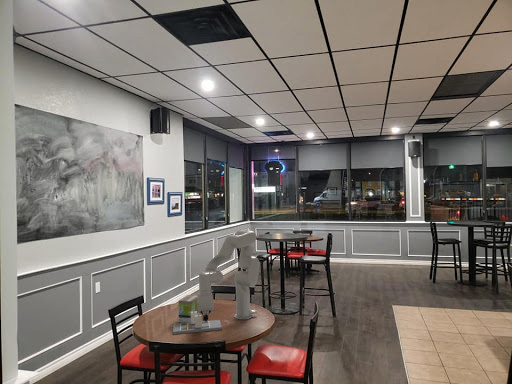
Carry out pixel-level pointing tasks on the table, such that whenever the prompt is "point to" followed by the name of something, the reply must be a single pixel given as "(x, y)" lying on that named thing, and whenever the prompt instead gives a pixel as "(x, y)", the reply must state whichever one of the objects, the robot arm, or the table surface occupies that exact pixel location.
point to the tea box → (187, 308)
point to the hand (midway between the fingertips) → (205, 321)
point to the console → (191, 328)
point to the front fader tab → (198, 321)
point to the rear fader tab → (193, 317)
